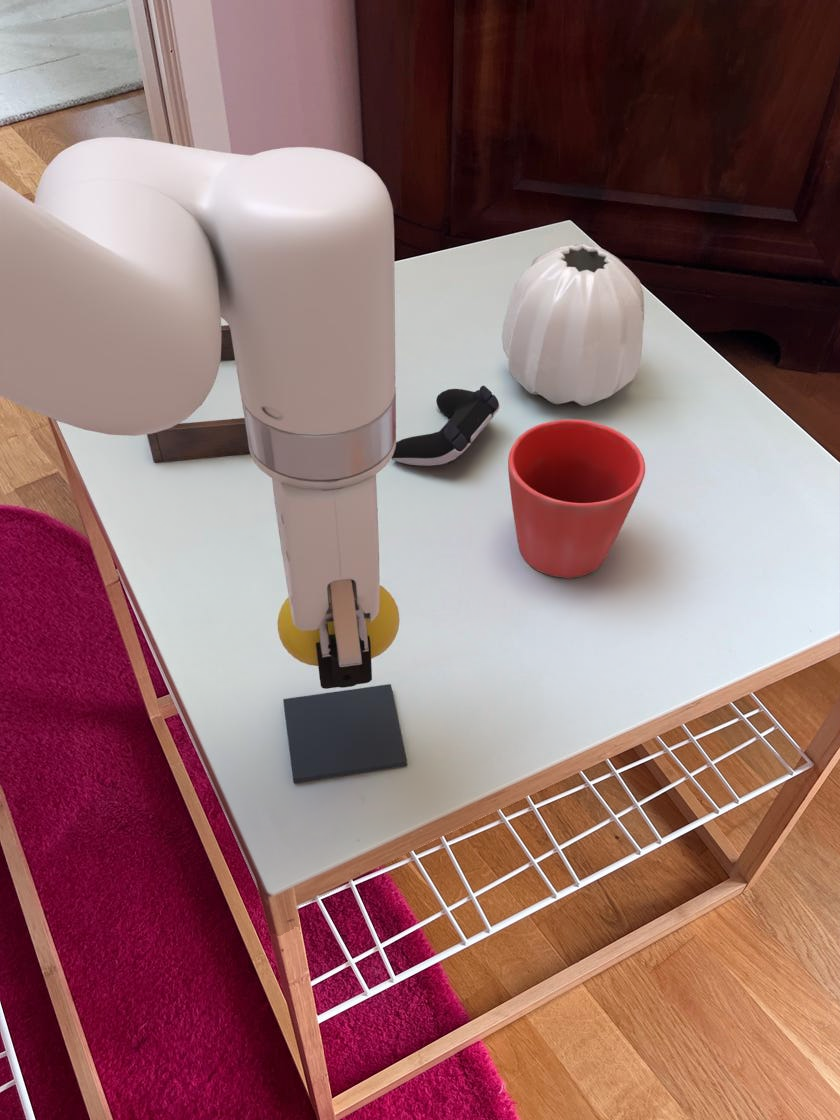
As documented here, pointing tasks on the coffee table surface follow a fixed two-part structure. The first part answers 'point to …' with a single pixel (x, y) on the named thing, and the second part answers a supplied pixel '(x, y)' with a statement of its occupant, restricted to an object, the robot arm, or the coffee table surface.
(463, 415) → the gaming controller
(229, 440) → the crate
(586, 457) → the flower pot
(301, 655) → the yellow grooved capsule
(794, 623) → the coffee table surface
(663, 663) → the coffee table surface
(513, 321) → the vase
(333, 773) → the mat
